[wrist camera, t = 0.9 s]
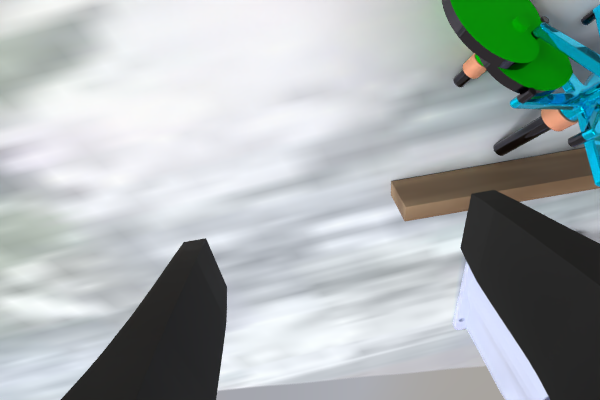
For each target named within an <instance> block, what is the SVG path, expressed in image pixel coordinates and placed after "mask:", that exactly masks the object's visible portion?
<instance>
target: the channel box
mask: <svg viewBox="0 0 600 400" xmlns="http://www.w3.org/2000/svg"><path fill="white" fill-rule="evenodd" d="M597 188H600V187H598V186H596V185H595V183H594V180H593V176H592V172H591V168H590V165H589V161H588V157H587V153H586V149H585V148H581V149H575V150H569V151H563V152H558V153H552V154H546V155H540V156H534V157H529V158H523V159H517V160H511V161H506V162H500V163H494V164H488V165H483V166H477V167H471V168H465V169H460V170H454V171H448V172H442V173H437V174H431V175H425V176H419V177H413V178H408V179H402V180H396V181H391V196H392V198H393V200H394V201H395V203H396V205H397V207H398V209H399V211H400V213H401V215H402V217H403V219H404V221H410V220H416V219H421V218H427V217H433V216H439V215H445V214H451V213H456V212H462V211H468V208H469V203H470V198H471V194H472V193H478V192H484V191H490V190H496V191H498V192H500V193H502V194H504V195H506V196H508V197H510V198H512V199H514V200H516V201H518V202H521V201H527V200H532V199H538V198H544V197H550V196H556V195H562V194H567V193H573V192H579V191H585V190H591V189H597Z"/></svg>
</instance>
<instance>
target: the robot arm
mask: <svg viewBox="0 0 600 400" xmlns="http://www.w3.org/2000/svg"><path fill="white" fill-rule="evenodd" d="M461 250H462V252H463V254H464V257H465V259H466V265H465V269H464V274H463V279H462V283H461V288H460V292H459V297H458V302H457V306H456V311H455V316H454V320H453V327H454V328H455V329H456V330H461V329H467V331H468V332H469V334H470V336H471V338H472V340H473V342H474V344H475V346H476V347H477V349H478V351H479V353H480V355H481V357H482V359H483V360H484V362H485V364H486V366H487V368H488V370H489V372H490V374H491V375H492V377H493V379H494V381H495V383H496V385H497V387H498V388H499V390H500V392H501V394H502V395H503V397H504V398H505V400H600V244H599V243H597V242H595V241H593V240H591V239H589V238H587V237H585V236H583V235H581V234H579V233H577V232H575V231H573V230H571V229H570V228H568V227H566V226H564V225H562V224H560V223H558V222H556V221H554V220H552V219H550V218H548V217H547V216H545V215H543V214H541V213H539V212H537V211H535V210H533V209H531V208H530V207H528V206H526V205H524V204H522V203H520V202H518V201H516V200H514V199H512V198H510V197H508V196H506V195H504V194H502V193H500V192H498V191H496V190H490V191H484V192H478V193H472V194H471V198H470V203H469V208H468V213H467V218H466V223H465V228H464V233H463V238H462V243H461ZM226 317H227V286H226V284H225V282H224V279H223V277H222V275H221V272H220V270H219V268H218V265H217V263H216V261H215V258H214V256H213V254H212V251H211V249H210V247H209V244H208V242H207V240H206V239H200V240H194V241H188V242H184V243H183V244H182V246H181V247H180V248H179V250H178V251H177V252H176V254H175V255H174V257H173V258H172V260H171V261H170V262H169V264H168V265H167V267H166V268H165V270H164V271H163V273H162V274H161V275H160V277H159V278H158V280H157V281H156V283H155V284H154V286H153V287H152V288H151V290H150V291H149V292H148V294H147V295H146V297H145V298H144V299H143V301H142V302H141V304H140V305H139V306H138V308H137V309H136V310H135V312H134V313H133V314H132V316H131V317H130V318H129V320H128V321H127V322H126V324H125V325H124V326H123V327H122V329H121V330H120V331H119V332H118V334H117V335H116V336H115V338H114V339H113V340H112V341H111V343H110V344H109V345H108V346H107V348H106V349H105V350H104V351H103V353H102V354H101V355H100V356H99V357H98V359H97V360H96V361H95V362H94V363H93V364H92V365H91V367H90V368H89V369H88V370H87V371H86V372H85V374H84V375H83V376H82V377H81V378H80V379H79V380H78V381H77V382H76V383H75V385H74V386H73V387H72V388H71V389H70V390H69V391H68V392H67V393H66V395H65V396H64V397H63V398H62V399H61V400H216V395H217V388H218V381H219V374H220V366H221V359H222V352H223V344H224V337H225V329H226Z"/></svg>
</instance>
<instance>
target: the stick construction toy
mask: <svg viewBox="0 0 600 400" xmlns="http://www.w3.org/2000/svg"><path fill="white" fill-rule="evenodd" d="M442 4H443V8H444V11H445V14H446V17H447V19H448V21H449V23H450V25H451V27H452V28H453V30H454V31H455V33H456V34H457V35H458V37H459V38H460V39H461V40H462V42H463V43H464V44H465V45H466V46H467V47H468V48H469V49H470V50H471V51H473V52H474V54H473V55H472V56H471V57H470V58H469V59H468V60H467V61H466V62H465V63H464V64H463V70H462V71H461V72H460V73H459V74H458V75H456V76H455V77H454V83H455V85H456V86H458V87H463V86H464V85H466V84H467V83H468V82H469V81H470V80H471V79H472V78H473V79H476V78H478V77H480V76H481V75H482V74H483V73H484V72H485V71H486V70H487V71H488V72H489V73H490V74H491V75H492V76H493V77H494V78H495V79H496V80H497V81H498V82H500V83H501V84H502V85H504V86H505V87H507V88H509V89H510V90H513V91H515V92H517V93H520V95H518V96H517V97H515V98H514V99H513V100H511V101H510V105H511V107H512V108H517V109H542V110H541V117H539V118H537V119H536V120H534V121H532V122H531V123H529V124H527V125H526V126H524V127H522V128H521V129H519V130H517V131H516V132H514V133H513V134H511V135H509V136H508V137H506V138H504V139H503V140H501V141H499V142H498V143H496V144H495V145H494V151H495V153H496V154H498V155H500V156H503V155H505V154H507V153H508V152H510V151H512V150H514V149H516V148H518V147H519V146H521V145H523V144H525V143H527V142H528V141H530V140H532V139H534V138H536V137H538V136H539V135H541V134H543V133H545V132H547V131H548V130H550V129H552V130H554V131H562V130H564V129H566V128H568V127H570V126H572V125H574V124H576V123H577V122H578V123H579V126H580V130H581V133H579V134H577V135H575V136H573V137H571V138H569V139H568V144H569V145H570V146H571V147H577V146H579V145H581V144H583V143H584V145H585V149H586V153H587V157H588V161H589V165H590V168H591V172H592V176H593V180H594V183H595V185H596V186H598V187H600V55H599V54H598V53H596V52H594V51H592V50H591V49H589V48H587V47H586V46H584V45H582V44H581V43H579V42H577V41H575V40H574V39H572V38H570V37H569V36H567V35H565V34H563V33H562V32H560V31H558V30H557V29H555V28H553V27H551V26H550V25H548V23H549V19H548V18H547V17H541V18H540V16H539V14H538V12H537V10H536V8H535V7H534V5H533V4H532V3H531V2H530V0H442ZM595 19H596V23H597V28H598V32H599V36H600V4H599V5H598V6H597V7H596V8H595V9H593V10H592V11H591V12H589V13H588V14H587V15H586V16H585V17H583V19H582V20H581V22H582V24H584V25H588V24H589V23H591V22H592V21H593V20H595ZM568 57H570V58H571V59H573V60H574V61H576V62H577V63H579V64H580V65H582V66H583V67H585V68H586V69H588V70H589V71H591V72H592V73H591V75H590V76H589V77H588V79H587V80H586V81H585V83H584V84H582V83H581V82H580V81H579V80H578V79H577V77H576V76H575V75H574V74H573V70H572V66H571V64H570V61H569V58H568ZM561 87H562V88H563V89H564V91H565V93H556V94H551V93H553V92H554V91H556V90H557V89H559V88H561Z"/></svg>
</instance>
